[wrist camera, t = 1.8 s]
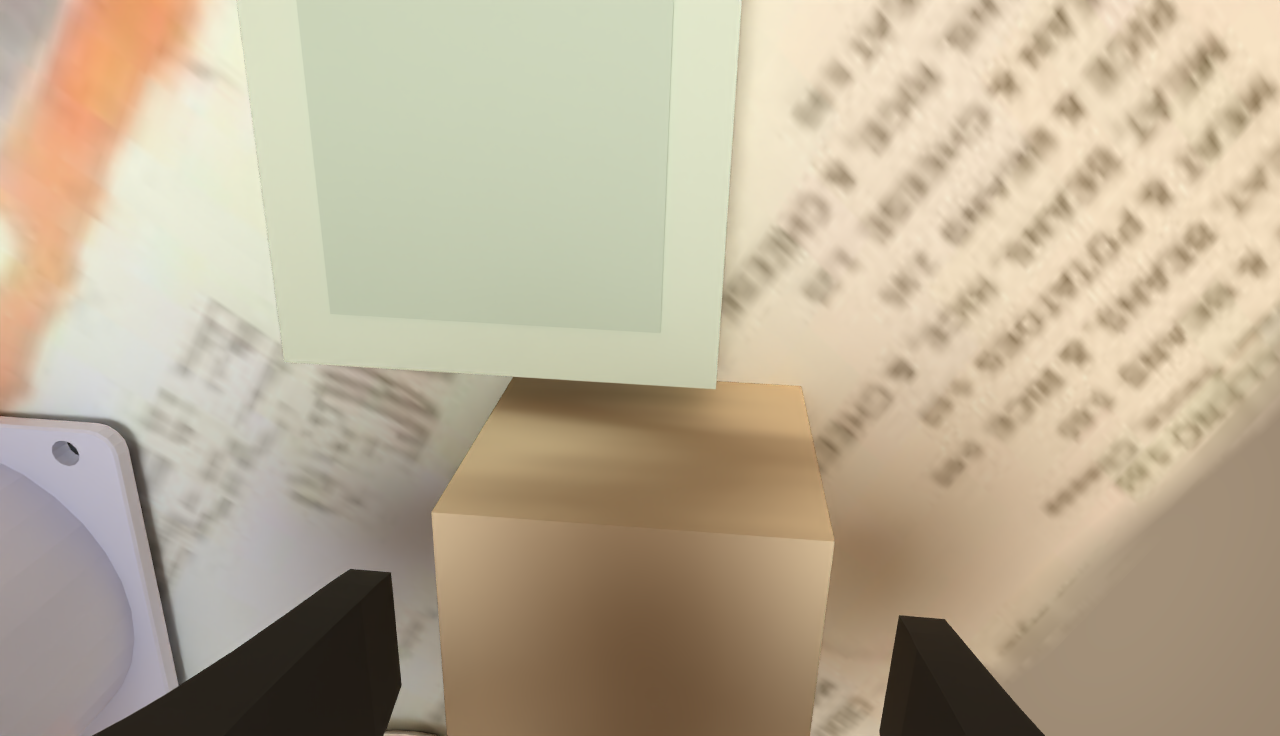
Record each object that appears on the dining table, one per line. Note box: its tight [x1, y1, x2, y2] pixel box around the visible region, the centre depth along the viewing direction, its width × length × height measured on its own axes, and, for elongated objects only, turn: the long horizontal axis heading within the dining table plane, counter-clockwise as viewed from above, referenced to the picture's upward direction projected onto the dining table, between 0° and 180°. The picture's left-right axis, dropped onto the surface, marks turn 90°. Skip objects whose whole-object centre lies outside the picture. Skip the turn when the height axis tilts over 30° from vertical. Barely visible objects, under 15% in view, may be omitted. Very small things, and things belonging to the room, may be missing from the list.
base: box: [236, 0, 742, 389], centre depth 13 cm, size 7×7×2 cm
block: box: [431, 377, 835, 736], centre depth 14 cm, size 5×5×5 cm
